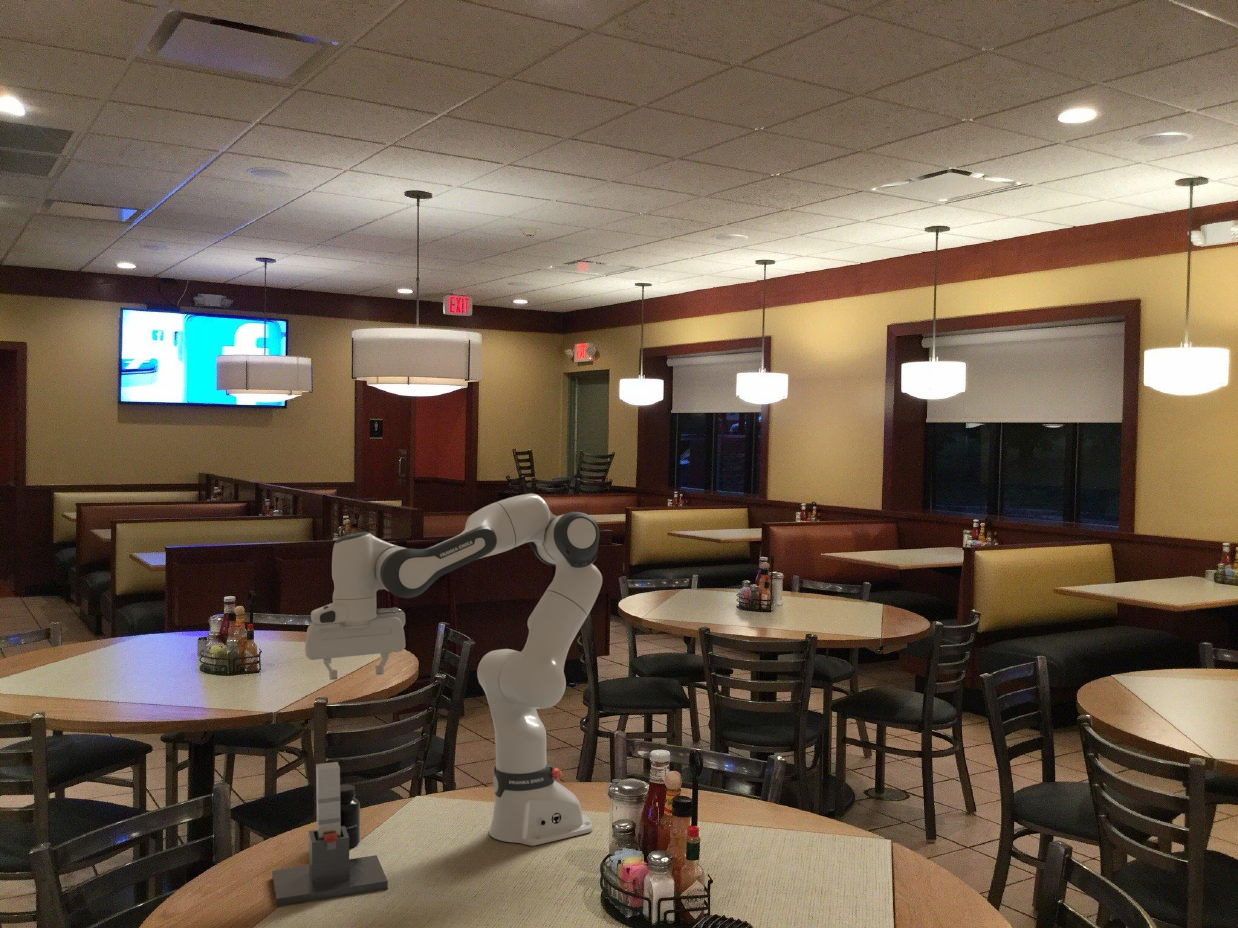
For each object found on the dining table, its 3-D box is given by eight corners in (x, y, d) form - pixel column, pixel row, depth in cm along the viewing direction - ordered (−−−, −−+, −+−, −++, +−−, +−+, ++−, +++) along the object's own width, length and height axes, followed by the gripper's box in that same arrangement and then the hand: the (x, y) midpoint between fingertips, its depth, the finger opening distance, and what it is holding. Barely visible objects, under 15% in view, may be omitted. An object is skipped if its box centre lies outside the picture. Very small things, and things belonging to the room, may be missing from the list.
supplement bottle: (351, 851, 212) (350, 793, 212) (320, 849, 214) (320, 791, 214) (365, 839, 219) (365, 783, 219) (336, 837, 221) (335, 781, 221)
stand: (376, 862, 206) (376, 810, 206) (387, 888, 193) (387, 833, 193) (272, 878, 199) (271, 824, 199) (276, 906, 186) (276, 849, 186)
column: (338, 843, 199) (337, 761, 199) (341, 850, 195) (340, 767, 195) (316, 846, 197) (315, 764, 197) (318, 854, 193) (317, 769, 193)
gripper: (402, 604, 219) (403, 668, 220) (303, 612, 212) (305, 678, 212) (407, 608, 214) (409, 674, 214) (306, 616, 206) (308, 684, 206)
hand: (356, 676), depth 213 cm, fingers open, 8 cm apart
